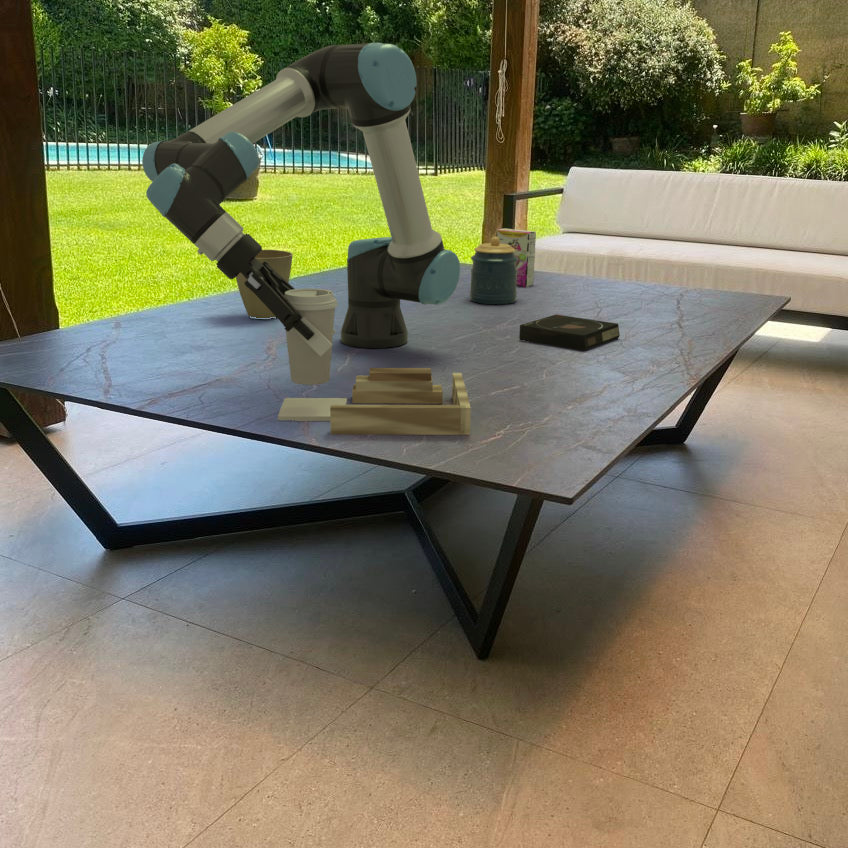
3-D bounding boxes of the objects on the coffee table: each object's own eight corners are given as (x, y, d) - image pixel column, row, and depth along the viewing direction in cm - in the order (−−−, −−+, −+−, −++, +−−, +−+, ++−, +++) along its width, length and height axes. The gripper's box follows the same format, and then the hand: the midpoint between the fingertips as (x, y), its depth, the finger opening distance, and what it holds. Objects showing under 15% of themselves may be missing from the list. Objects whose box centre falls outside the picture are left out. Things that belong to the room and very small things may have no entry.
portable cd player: (585, 353, 214) (586, 335, 212) (519, 342, 223) (519, 325, 222) (619, 340, 226) (620, 324, 225) (555, 330, 236) (556, 314, 235)
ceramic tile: (285, 402, 173) (284, 397, 173) (346, 402, 173) (346, 398, 173) (278, 420, 163) (277, 416, 162) (344, 421, 163) (343, 416, 163)
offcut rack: (338, 396, 177) (337, 372, 176) (460, 396, 178) (461, 373, 176) (330, 434, 156) (330, 407, 155) (470, 434, 157) (470, 408, 155)
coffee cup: (322, 389, 160) (321, 299, 155) (271, 383, 163) (268, 294, 159) (347, 376, 168) (347, 290, 164) (299, 370, 172) (297, 286, 167)
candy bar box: (493, 284, 297) (495, 229, 292) (501, 281, 301) (503, 228, 296) (526, 287, 291) (529, 232, 286) (534, 285, 295) (536, 230, 290)
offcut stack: (353, 396, 177) (353, 367, 176) (441, 396, 178) (441, 367, 176) (352, 403, 173) (352, 373, 171) (442, 403, 173) (442, 374, 172)
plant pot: (229, 323, 237) (226, 257, 232) (238, 311, 251) (236, 249, 246) (291, 323, 237) (289, 257, 232) (296, 311, 251) (295, 249, 247)
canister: (503, 307, 261) (505, 240, 256) (461, 301, 268) (462, 237, 262) (524, 299, 272) (527, 236, 266) (483, 295, 278) (485, 232, 273)
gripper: (225, 254, 170) (317, 344, 175) (201, 274, 149) (307, 375, 154) (254, 224, 169) (347, 315, 174) (235, 239, 147) (340, 342, 153)
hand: (328, 343), depth 164 cm, fingers closed on coffee cup, 9 cm apart
